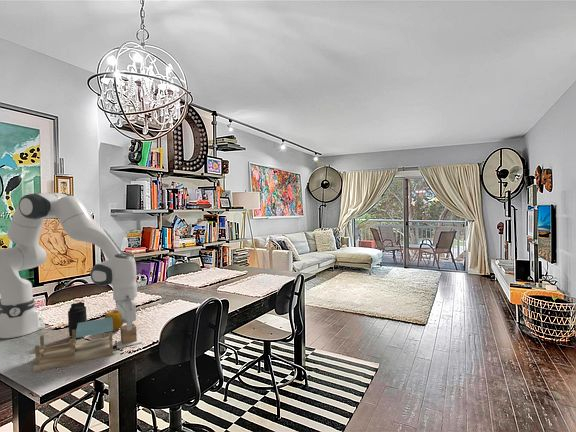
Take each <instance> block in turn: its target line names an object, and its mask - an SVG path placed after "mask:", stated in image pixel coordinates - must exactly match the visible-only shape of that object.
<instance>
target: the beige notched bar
mask: <svg viewBox="0 0 576 432" xmlns="http://www.w3.org/2000/svg"><path fill="white" fill-rule="evenodd" d="M39 341H40V342H39V343H40V345H39V344H38V345H35V346H34V347H35V348H34V350H35V351H34V352H35V363H34V365H33V373H39V372H41V371H46V370H51V369H55V368H59V367H65V366H68V365H72V364H77V363H81V362H86V361H91V360H95V359H98V358H99V359H100V358H102V357H108V356H111V355H114V345H113V342H114V341H113V331H109V332H108V336H107V337H102V338H101V337H100V338H97V339H93V340H87V341H82V342H78V343H77V338H76V334H75V329H74V330H72V337H71V338H70V339H69V342H66V343H65V342H64V343H60V344H55V345H50V346H46V347H45V336H44V335H40V336H39Z"/></svg>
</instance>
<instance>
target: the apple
mask: <svg viewBox="0 0 576 432" xmlns="http://www.w3.org/2000/svg"><path fill="white" fill-rule="evenodd" d="M109 317H112V319H113V330H115V331H118V330H120V329H119V328H120V326H124V324H123V323H122V322H121V316H120V313H119V312H118V310H117V309H114V310H112V311H109V312H107V313H106V314H105V315H104V318H109ZM117 329H118V330H117Z"/></svg>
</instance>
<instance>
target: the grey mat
mask: <svg viewBox="0 0 576 432" xmlns="http://www.w3.org/2000/svg"><path fill="white" fill-rule="evenodd" d="M116 341H117V342H116V349H117V350H118V349H122V347H123V348H127V347H131V346H130V345H132V346H136V345H140V344H143V341H142V337H141V334H137V341H135V342H131V343H127V344H123V343H122V341H121V338H116ZM126 346H127V347H126Z"/></svg>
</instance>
